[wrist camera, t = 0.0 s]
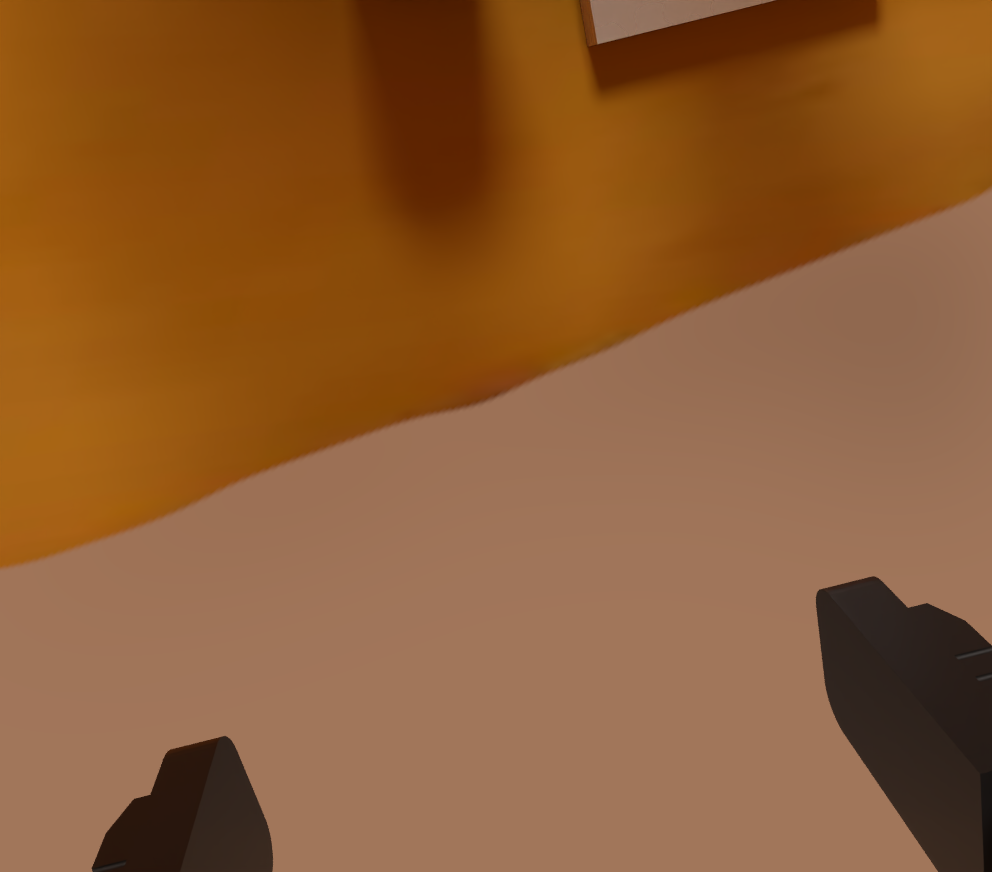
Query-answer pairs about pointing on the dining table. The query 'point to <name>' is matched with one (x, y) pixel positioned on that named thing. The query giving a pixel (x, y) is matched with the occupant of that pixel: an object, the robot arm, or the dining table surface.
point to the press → (647, 15)
